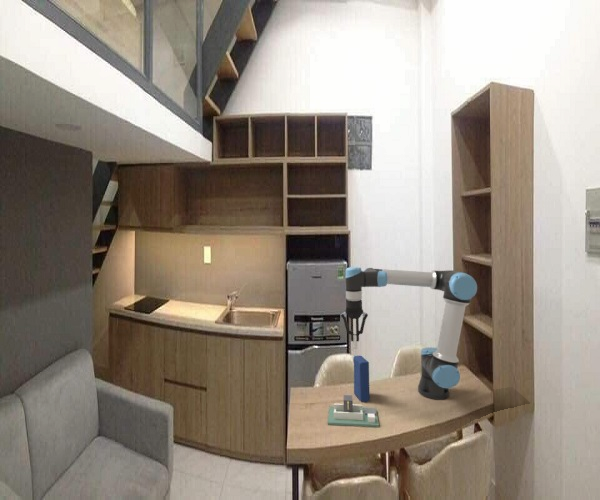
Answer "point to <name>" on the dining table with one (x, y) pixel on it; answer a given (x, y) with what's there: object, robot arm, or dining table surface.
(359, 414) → the header board
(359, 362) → the tall blue block
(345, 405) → the grey upright block
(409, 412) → the dining table surface
